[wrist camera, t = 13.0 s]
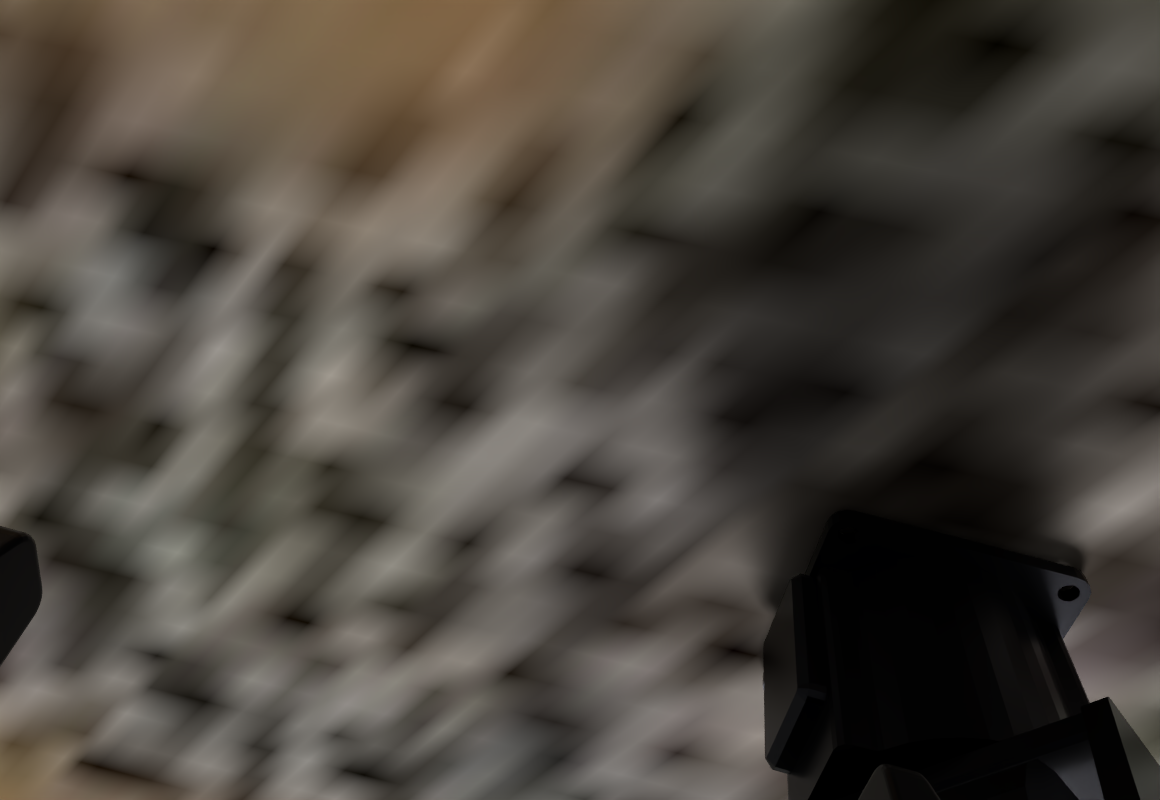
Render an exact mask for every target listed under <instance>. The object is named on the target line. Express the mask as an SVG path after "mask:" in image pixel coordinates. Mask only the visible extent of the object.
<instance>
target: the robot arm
mask: <svg viewBox="0 0 1160 800" xmlns="http://www.w3.org/2000/svg"><path fill="white" fill-rule="evenodd" d="M846 527H849V528H854V529H856V531H855V532H854V533H851V534H842V533H840V532H839V531H840V530H841V529H843V528H846ZM1067 585H1074V586H1073V587H1072V588H1071V589H1069V590H1066V591H1060V590H1059V589H1060V588H1062V587H1064V586H1067ZM1090 594H1091V589H1090V585H1089V583H1088V581H1087V579H1086V577H1085V576H1084V574H1083V573H1082V572H1081V571H1080V570H1077V569H1075V568H1073V567H1069V566H1065V565H1061V564H1057V563H1053V562H1050V561H1046V560H1042V559H1038V558H1034V557H1030V556H1027V555H1023V554H1019V553H1015V552H1011V551H1007V550H1003V549H1000V548H996V547H992V546H988V545H984V544H980V543H976V542H973V541H969V540H965V539H961V538H957V537H953V536H950V535H946V534H942V533H938V532H934V531H930V530H926V529H923V528H919V527H915V526H911V525H907V524H903V523H900V522H896V521H892V520H888V519H884V518H880V517H876V516H873V515H869V514H865V513H861V512H857V511H853V510H843V511H838V512H836V513H835V514H833V515H832V516H831V517H830V518H829V520H828V521H827V524H826V526H825V528H824V531H823V533H822V535H821V538H820V540H819V542H818V545H817V547H816V550H815V552H814V554H813V557H812V559H811V561H810V564H809V566H808V568H807V571H806V573H805V575H804V574H798V575H797V576H795V577H793V578H792V579H790V581H789V584H788V586H787V589H786V591H785V593H784V596H783V598H782V601H781V603H780V606H779V608H778V610H777V613H776V615H775V618H774V620H773V622H772V625H771V627H770V630H769V632H768V635H767V637H766V639H765V642H764V673H763V689H764V716H765V759H766V760H767V762H768V764H769V765H770V767H771V769H773V770H776V771H779V772H783V773H787V778H788V800H1160V766H1159V764H1158V763H1157V762H1156V760H1155V759H1154V758H1153V756H1152V755H1151V753H1150V752H1149V751H1148V749H1147V748H1146V747H1145V745H1144V744H1143V743H1142V741H1141V740H1140V738H1139V737H1138V736H1137V734H1136V733H1135V732H1134V730H1133V729H1132V728H1131V726H1130V725H1129V723H1128V722H1127V721H1126V719H1125V718H1124V717H1123V715H1122V714H1121V713H1120V711H1119V710H1118V708H1117V707H1116V706H1115V704H1114V703H1113V702H1112V700H1111V699H1110V698H1109V697H1106V698H1103V699H1100V700H1097V701H1094V702H1092V703H1090V702H1089V700H1088V698H1087V695H1086V693H1085V690H1084V688H1083V686H1082V683H1081V681H1080V679H1079V676H1078V674H1077V672H1076V669H1075V667H1074V664H1073V662H1072V660H1071V657H1070V655H1069V653H1068V650H1067V648H1066V645H1065V643H1064V641H1063V638H1064V637H1065V635H1066V634H1067V632H1068V631H1069V629H1070V627H1071V626H1072V624H1073V623H1074V621H1075V620H1076V618H1077V617H1078V615H1079V613H1080V612H1081V610H1082V609H1083V607H1084V606H1085V604H1086V603H1087V601H1088V599H1089V597H1090ZM41 598H42V583H41V576H40V570H39V563H38V556H37V549H36V544H35V541H34V539H33V538H32V537H31V536H30V535H29V534H27V533H24V532H21V531H17V530H13V529H10V528H6V527H2V526H0V666H1V665H2V663H3V662H4V660H5V659H6V657H7V656H8V654H9V653H10V651H11V650H12V648H13V647H14V645H15V644H16V642H17V641H18V639H19V638H20V636H21V635H22V633H23V632H24V630H25V629H26V627H27V626H28V624H29V623H30V621H31V620H32V618H33V617H34V615H35V614H36V612H37V610H38V608H39V605H40V602H41Z"/></svg>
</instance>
